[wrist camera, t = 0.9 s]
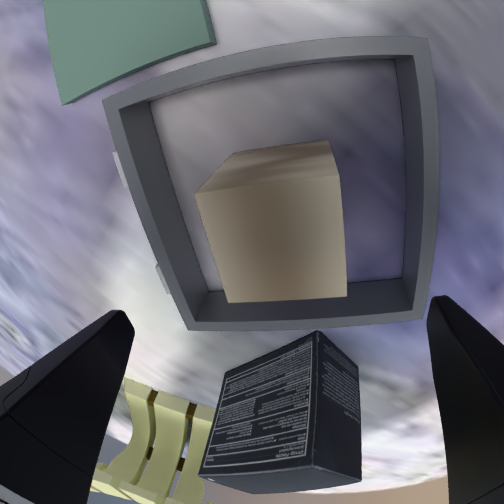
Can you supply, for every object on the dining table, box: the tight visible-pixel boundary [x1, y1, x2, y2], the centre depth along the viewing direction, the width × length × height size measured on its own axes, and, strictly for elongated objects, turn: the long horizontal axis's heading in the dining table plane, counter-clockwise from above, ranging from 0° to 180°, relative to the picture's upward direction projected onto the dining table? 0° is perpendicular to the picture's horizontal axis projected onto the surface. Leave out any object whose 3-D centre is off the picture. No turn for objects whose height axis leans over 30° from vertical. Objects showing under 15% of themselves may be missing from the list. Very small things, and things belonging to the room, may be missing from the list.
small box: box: [198, 331, 362, 494], centre depth 20 cm, size 11×6×10 cm, turn 135°
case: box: [102, 36, 440, 331], centre depth 15 cm, size 15×15×3 cm
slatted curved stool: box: [90, 377, 216, 504], centre depth 28 cm, size 30×16×18 cm, turn 78°
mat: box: [43, 0, 216, 106], centre depth 11 cm, size 10×10×1 cm
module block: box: [194, 140, 347, 303], centre depth 14 cm, size 5×5×6 cm
